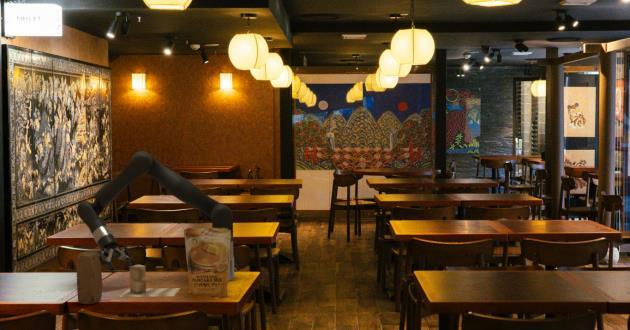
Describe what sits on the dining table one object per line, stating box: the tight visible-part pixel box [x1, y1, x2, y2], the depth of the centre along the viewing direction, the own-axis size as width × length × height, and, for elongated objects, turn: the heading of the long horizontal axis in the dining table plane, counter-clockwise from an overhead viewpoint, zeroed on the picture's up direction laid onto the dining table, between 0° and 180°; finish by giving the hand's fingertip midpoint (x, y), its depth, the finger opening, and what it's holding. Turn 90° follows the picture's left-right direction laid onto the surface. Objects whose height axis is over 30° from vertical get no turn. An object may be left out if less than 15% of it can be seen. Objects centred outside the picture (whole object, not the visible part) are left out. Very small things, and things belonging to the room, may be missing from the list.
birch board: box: [119, 287, 181, 298], centre depth 311 cm, size 22×14×2 cm, turn 89°
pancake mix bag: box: [183, 227, 231, 298], centre depth 308 cm, size 7×19×28 cm, turn 86°
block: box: [76, 250, 103, 305], centre depth 302 cm, size 11×8×20 cm
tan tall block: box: [129, 264, 147, 295], centre depth 310 cm, size 5×5×11 cm
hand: (122, 268), depth 318 cm, fingers open, 8 cm apart
